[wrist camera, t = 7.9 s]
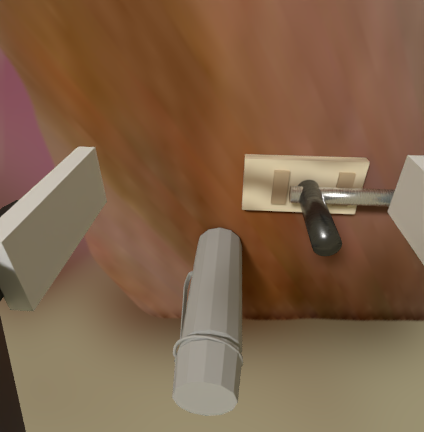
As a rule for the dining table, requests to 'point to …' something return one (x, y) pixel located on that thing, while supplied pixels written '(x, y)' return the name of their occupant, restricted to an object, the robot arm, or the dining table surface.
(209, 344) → the water bottle
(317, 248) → the metal lever handle
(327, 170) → the panel
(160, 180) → the dining table surface
